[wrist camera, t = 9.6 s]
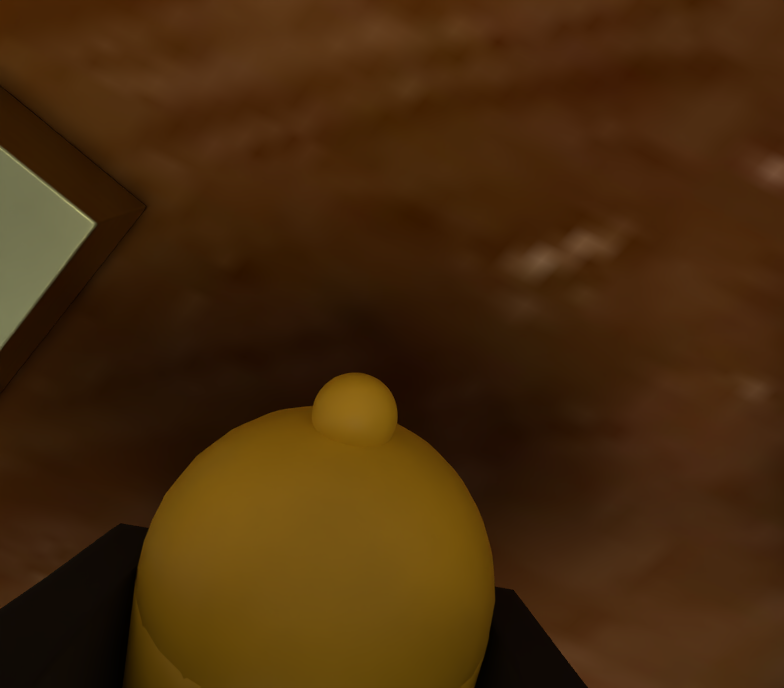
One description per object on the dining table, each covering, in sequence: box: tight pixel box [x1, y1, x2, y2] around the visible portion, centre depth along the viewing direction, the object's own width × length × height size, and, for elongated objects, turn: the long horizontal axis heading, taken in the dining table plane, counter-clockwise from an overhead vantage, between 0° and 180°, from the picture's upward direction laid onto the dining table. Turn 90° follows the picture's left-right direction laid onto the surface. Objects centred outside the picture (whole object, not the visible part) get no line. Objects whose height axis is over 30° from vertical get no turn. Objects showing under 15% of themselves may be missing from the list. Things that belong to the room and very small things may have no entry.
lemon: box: [122, 373, 495, 688], centre depth 9 cm, size 8×4×4 cm, turn 168°
